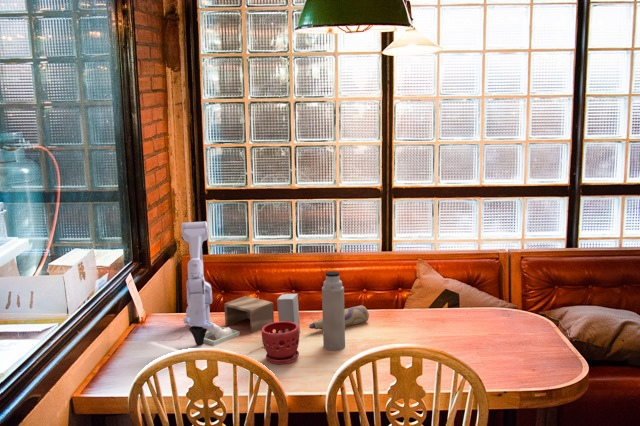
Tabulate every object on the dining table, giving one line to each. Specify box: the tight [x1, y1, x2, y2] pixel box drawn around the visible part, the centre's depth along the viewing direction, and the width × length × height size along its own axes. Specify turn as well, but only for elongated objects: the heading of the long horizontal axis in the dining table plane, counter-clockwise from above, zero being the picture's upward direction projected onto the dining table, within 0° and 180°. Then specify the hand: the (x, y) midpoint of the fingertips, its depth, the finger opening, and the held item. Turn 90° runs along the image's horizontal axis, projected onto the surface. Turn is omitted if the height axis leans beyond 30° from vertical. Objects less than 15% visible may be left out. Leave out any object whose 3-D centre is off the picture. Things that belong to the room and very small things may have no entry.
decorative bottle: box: [308, 305, 370, 330], centre depth 260 cm, size 26×8×7 cm, turn 121°
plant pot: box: [260, 321, 300, 365], centre depth 229 cm, size 13×13×12 cm
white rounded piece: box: [206, 321, 222, 336], centre depth 251 cm, size 4×4×6 cm
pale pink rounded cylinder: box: [214, 326, 232, 340], centre depth 249 cm, size 4×4×6 cm
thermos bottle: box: [321, 270, 346, 351], centre depth 238 cm, size 8×8×28 cm
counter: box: [223, 295, 275, 334], centre depth 262 cm, size 15×12×10 cm
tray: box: [203, 326, 240, 346], centre depth 250 cm, size 9×13×3 cm
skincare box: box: [276, 293, 301, 334], centre depth 251 cm, size 8×7×16 cm
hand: (199, 344), depth 243 cm, fingers closed
